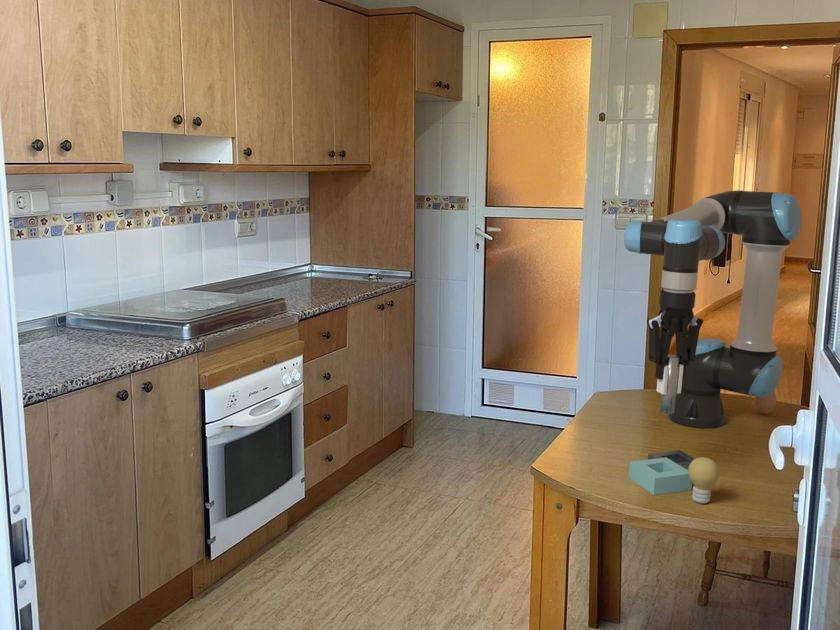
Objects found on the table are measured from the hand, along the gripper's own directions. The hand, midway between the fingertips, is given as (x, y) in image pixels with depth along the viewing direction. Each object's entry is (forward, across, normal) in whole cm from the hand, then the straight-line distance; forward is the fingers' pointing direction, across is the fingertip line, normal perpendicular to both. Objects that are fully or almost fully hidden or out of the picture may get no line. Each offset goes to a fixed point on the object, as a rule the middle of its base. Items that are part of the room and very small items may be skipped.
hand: (668, 392), depth 189 cm
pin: (+5, 0, 0) cm, 5 cm away
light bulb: (+22, -2, +12) cm, 25 cm away
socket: (+22, +1, +1) cm, 22 cm away
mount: (+21, -8, -6) cm, 24 cm away
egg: (+20, -59, -34) cm, 71 cm away
